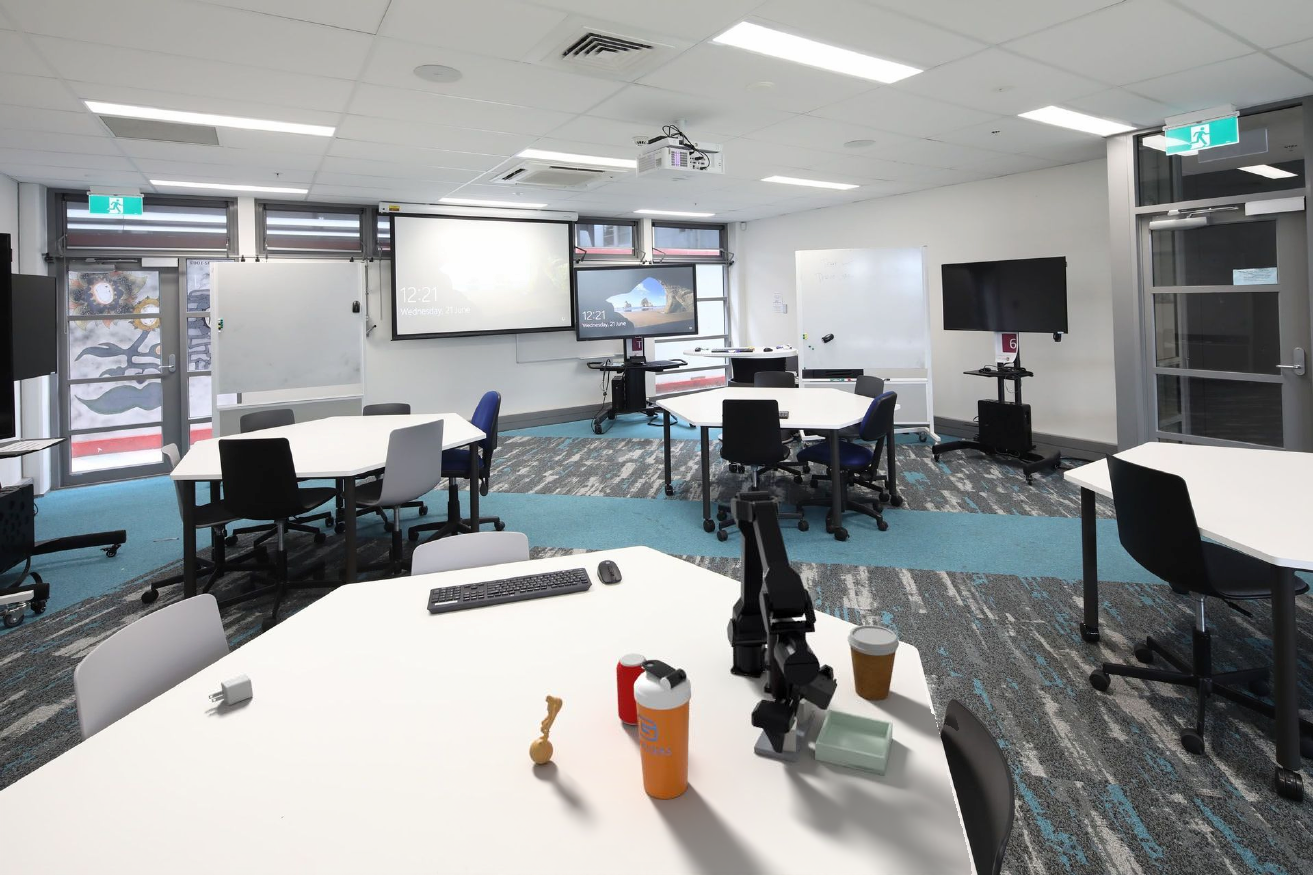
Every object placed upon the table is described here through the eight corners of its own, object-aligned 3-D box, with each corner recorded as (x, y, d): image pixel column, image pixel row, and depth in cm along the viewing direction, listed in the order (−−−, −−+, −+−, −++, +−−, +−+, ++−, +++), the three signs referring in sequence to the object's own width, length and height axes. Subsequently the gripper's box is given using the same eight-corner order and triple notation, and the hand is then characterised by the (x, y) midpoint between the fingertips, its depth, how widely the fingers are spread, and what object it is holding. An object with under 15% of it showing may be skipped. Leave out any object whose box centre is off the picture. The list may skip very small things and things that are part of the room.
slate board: (754, 752, 120) (753, 746, 120) (777, 707, 133) (777, 702, 133) (794, 761, 117) (794, 756, 117) (814, 715, 130) (814, 710, 130)
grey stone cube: (782, 718, 128) (782, 698, 127) (791, 707, 131) (791, 688, 131) (803, 724, 126) (803, 703, 125) (811, 713, 129) (811, 693, 129)
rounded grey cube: (771, 748, 119) (771, 726, 119) (773, 735, 123) (773, 714, 122) (795, 751, 118) (795, 729, 118) (797, 737, 122) (797, 716, 121)
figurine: (532, 747, 123) (528, 684, 121) (566, 745, 124) (563, 681, 122) (527, 778, 115) (523, 710, 113) (564, 774, 116) (560, 707, 114)
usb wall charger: (253, 697, 143) (250, 679, 143) (214, 711, 138) (212, 693, 138) (246, 691, 146) (244, 673, 145) (208, 704, 141) (206, 686, 141)
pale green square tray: (815, 759, 118) (815, 742, 117) (828, 724, 127) (828, 709, 127) (883, 775, 113) (884, 758, 113) (892, 738, 123) (892, 722, 122)
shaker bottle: (658, 760, 119) (654, 649, 115) (703, 778, 114) (701, 663, 110) (626, 790, 111) (621, 673, 108) (673, 811, 106) (670, 688, 103)
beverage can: (655, 712, 133) (653, 653, 131) (644, 730, 127) (642, 669, 125) (625, 707, 135) (623, 649, 133) (613, 725, 129) (610, 664, 127)
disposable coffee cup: (900, 706, 133) (902, 647, 131) (848, 702, 134) (849, 644, 132) (894, 681, 142) (895, 625, 140) (845, 678, 144) (846, 622, 142)
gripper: (820, 691, 106) (820, 784, 109) (843, 639, 123) (842, 721, 126) (749, 677, 111) (750, 767, 114) (781, 629, 128) (781, 708, 130)
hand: (784, 740), depth 121 cm, fingers open, 7 cm apart
